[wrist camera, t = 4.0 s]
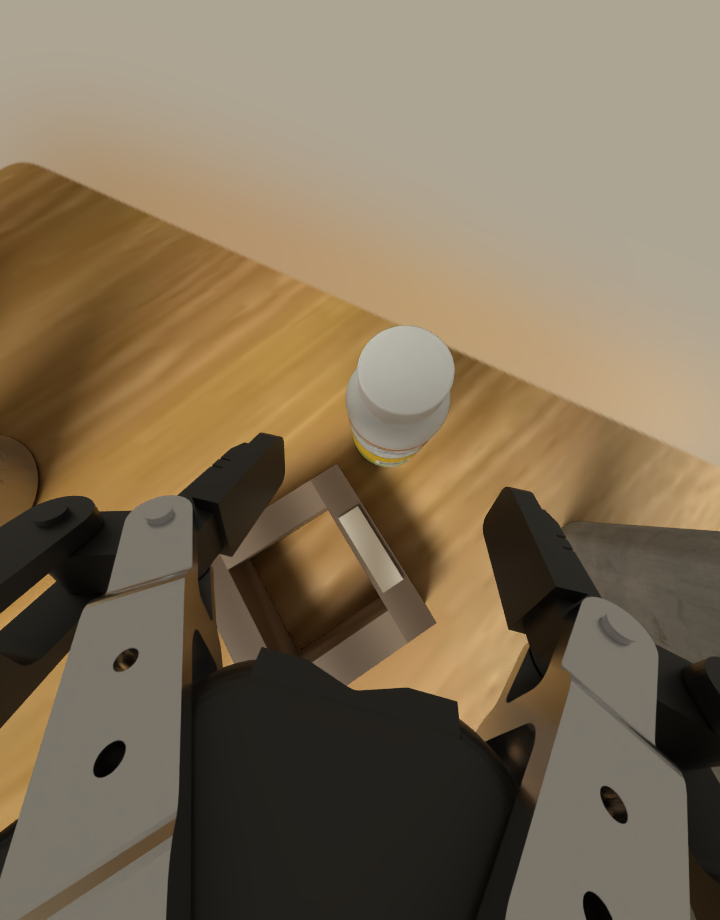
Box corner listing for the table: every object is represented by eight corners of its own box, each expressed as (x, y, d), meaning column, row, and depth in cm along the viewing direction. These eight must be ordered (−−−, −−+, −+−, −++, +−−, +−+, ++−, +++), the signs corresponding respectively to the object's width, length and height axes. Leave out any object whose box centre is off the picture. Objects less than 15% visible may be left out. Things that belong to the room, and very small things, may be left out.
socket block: (286, 698, 17) (268, 742, 14) (213, 550, 19) (182, 559, 16) (425, 603, 18) (437, 624, 15) (341, 470, 20) (336, 462, 16)
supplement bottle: (386, 387, 21) (402, 285, 11) (437, 432, 20) (501, 364, 10) (338, 434, 20) (312, 369, 11) (389, 482, 19) (410, 460, 10)
